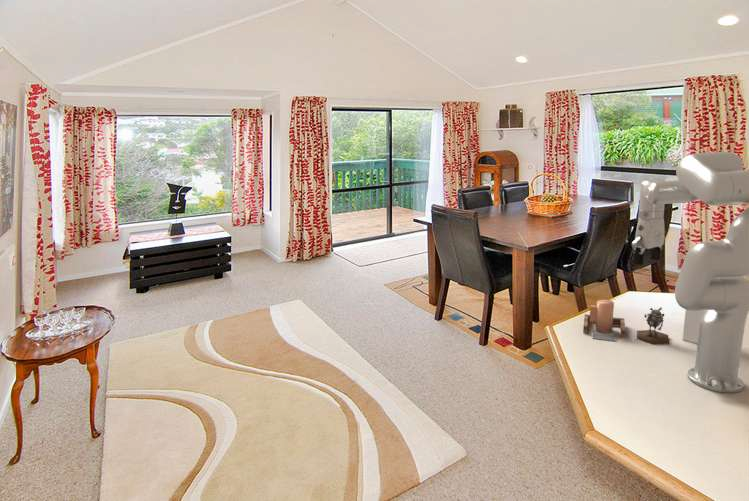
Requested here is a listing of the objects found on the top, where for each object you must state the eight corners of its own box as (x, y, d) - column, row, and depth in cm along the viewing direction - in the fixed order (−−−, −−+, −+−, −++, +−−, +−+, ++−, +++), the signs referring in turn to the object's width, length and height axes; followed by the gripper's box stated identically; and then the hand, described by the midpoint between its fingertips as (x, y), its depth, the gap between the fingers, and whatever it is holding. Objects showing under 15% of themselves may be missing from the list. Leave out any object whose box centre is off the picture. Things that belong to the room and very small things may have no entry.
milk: (703, 345, 143) (710, 282, 138) (681, 339, 148) (688, 279, 142) (709, 339, 146) (717, 278, 141) (688, 334, 151) (695, 275, 146)
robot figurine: (628, 336, 153) (630, 304, 150) (643, 329, 157) (645, 298, 154) (661, 347, 143) (664, 313, 141) (676, 340, 148) (679, 307, 145)
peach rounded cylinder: (612, 334, 155) (614, 305, 153) (588, 331, 159) (590, 303, 156) (612, 328, 160) (613, 300, 158) (589, 325, 164) (590, 298, 161)
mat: (615, 341, 149) (615, 340, 149) (592, 338, 153) (592, 338, 153) (614, 335, 154) (614, 335, 154) (592, 333, 157) (592, 332, 157)
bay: (625, 338, 151) (625, 331, 150) (583, 333, 157) (583, 326, 157) (623, 325, 162) (624, 318, 161) (584, 321, 168) (584, 314, 167)
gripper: (646, 219, 143) (641, 268, 147) (676, 213, 151) (672, 260, 155) (624, 217, 150) (621, 263, 154) (655, 211, 157) (651, 256, 161)
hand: (646, 261), depth 154 cm, fingers open, 9 cm apart
